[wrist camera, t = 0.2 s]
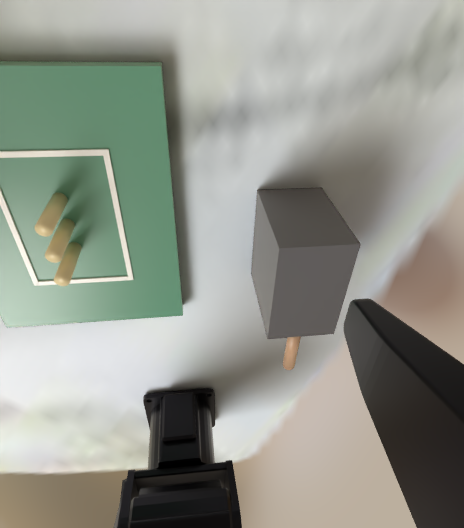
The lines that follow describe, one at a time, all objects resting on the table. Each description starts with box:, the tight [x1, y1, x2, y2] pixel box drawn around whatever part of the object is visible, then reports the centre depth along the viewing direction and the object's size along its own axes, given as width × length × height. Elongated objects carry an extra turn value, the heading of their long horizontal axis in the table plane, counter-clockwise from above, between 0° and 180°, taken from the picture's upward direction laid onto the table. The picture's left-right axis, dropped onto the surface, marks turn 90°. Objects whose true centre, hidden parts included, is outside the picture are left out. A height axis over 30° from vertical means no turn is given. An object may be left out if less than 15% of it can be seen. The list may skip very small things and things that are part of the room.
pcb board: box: [0, 61, 183, 328], centre depth 20 cm, size 16×12×4 cm
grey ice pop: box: [251, 188, 360, 370], centre depth 23 cm, size 11×4×6 cm, turn 179°
